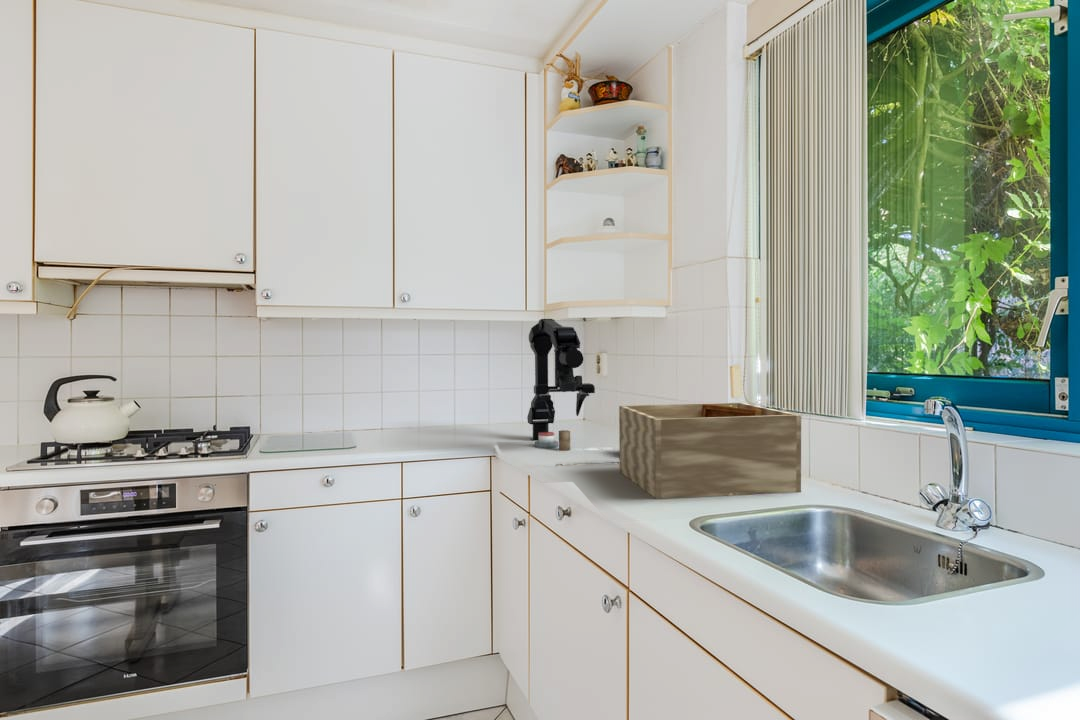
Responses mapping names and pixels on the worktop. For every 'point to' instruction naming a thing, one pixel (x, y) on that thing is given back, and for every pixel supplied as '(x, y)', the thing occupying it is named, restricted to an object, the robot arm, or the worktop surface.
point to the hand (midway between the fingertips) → (564, 416)
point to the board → (555, 444)
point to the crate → (709, 451)
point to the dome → (546, 437)
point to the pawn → (564, 440)
